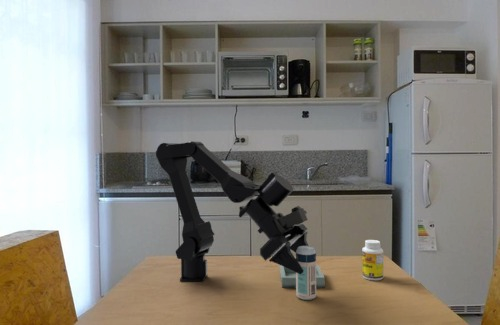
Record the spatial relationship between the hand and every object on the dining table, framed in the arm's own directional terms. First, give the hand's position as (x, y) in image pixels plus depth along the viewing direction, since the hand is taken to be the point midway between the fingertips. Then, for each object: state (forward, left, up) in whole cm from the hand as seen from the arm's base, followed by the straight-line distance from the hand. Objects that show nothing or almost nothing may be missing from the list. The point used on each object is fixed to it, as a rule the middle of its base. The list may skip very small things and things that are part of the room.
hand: (308, 267), depth 88 cm
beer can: (-1, 0, -8) cm, 8 cm away
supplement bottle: (+19, +14, -8) cm, 25 cm away
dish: (-1, +12, -7) cm, 14 cm away
